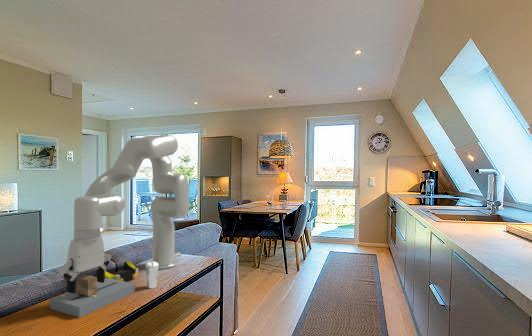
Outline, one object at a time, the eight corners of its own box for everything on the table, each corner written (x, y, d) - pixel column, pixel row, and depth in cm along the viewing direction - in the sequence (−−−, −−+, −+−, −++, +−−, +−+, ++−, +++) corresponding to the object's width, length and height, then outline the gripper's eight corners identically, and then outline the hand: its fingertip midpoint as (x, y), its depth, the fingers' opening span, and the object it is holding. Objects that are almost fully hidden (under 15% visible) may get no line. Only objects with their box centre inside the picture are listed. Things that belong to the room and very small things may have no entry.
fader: (85, 289, 97) (85, 274, 97) (97, 292, 95) (97, 276, 95) (76, 293, 94) (76, 277, 94) (87, 296, 92) (88, 280, 92)
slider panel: (107, 286, 109) (107, 277, 109) (134, 292, 104) (134, 283, 104) (49, 308, 91) (50, 298, 91) (79, 317, 85) (79, 306, 85)
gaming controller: (93, 284, 111) (110, 288, 107) (94, 269, 112) (111, 273, 107) (128, 272, 125) (144, 276, 120) (128, 259, 125) (144, 262, 121)
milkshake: (145, 290, 105) (145, 262, 105) (145, 285, 110) (145, 258, 110) (158, 288, 107) (159, 261, 107) (158, 283, 112) (158, 257, 112)
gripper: (103, 228, 104) (103, 276, 104) (51, 238, 89) (50, 295, 88) (118, 230, 101) (118, 280, 101) (67, 240, 86) (66, 299, 85)
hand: (86, 287), depth 95 cm, fingers open, 9 cm apart
